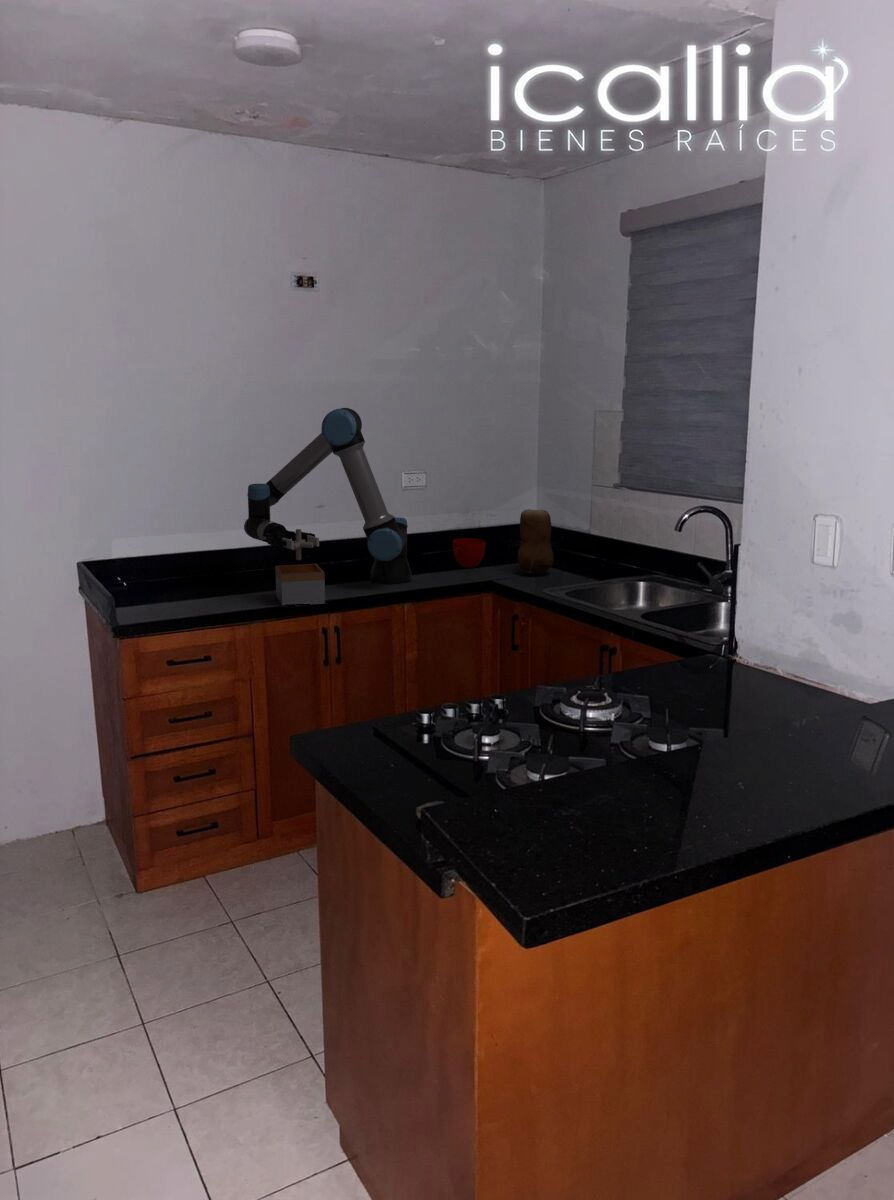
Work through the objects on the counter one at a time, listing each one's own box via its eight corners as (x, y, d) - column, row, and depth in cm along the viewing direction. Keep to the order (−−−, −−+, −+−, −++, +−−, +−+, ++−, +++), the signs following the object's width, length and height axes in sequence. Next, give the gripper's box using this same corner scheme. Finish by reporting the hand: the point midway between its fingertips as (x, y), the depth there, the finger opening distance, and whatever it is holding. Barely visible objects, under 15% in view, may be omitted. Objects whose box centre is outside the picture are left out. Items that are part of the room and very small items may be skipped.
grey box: (317, 593, 322) (316, 563, 319) (324, 603, 309) (324, 572, 306) (276, 596, 318) (275, 565, 315) (282, 606, 305) (281, 574, 302)
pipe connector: (307, 563, 304) (307, 533, 302) (278, 561, 306) (278, 531, 304) (318, 557, 314) (318, 528, 311) (289, 555, 316) (289, 526, 313)
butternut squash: (532, 569, 366) (535, 505, 360) (559, 574, 357) (562, 509, 351) (509, 574, 356) (511, 508, 350) (536, 580, 347) (539, 513, 341)
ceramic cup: (440, 568, 364) (440, 543, 362) (462, 561, 378) (463, 537, 376) (469, 572, 358) (469, 547, 355) (491, 565, 372) (491, 540, 369)
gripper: (300, 540, 330) (334, 551, 312) (244, 547, 317) (276, 558, 299) (300, 519, 328) (333, 529, 310) (243, 525, 315) (275, 535, 298)
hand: (305, 543), depth 305 cm, fingers closed on pipe connector, 9 cm apart
